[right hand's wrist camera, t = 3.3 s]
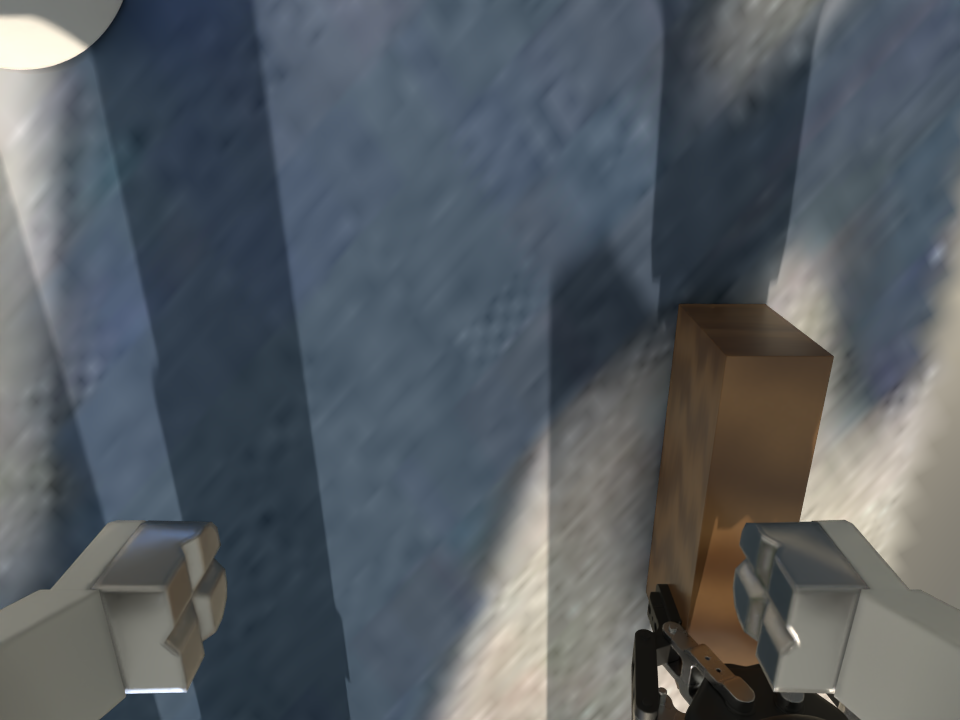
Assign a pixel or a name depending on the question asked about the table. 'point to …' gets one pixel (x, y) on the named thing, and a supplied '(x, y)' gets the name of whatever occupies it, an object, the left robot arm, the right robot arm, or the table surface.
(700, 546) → the bar
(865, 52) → the table surface
